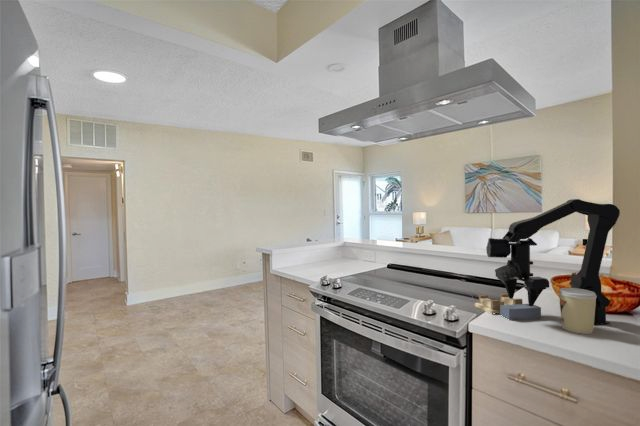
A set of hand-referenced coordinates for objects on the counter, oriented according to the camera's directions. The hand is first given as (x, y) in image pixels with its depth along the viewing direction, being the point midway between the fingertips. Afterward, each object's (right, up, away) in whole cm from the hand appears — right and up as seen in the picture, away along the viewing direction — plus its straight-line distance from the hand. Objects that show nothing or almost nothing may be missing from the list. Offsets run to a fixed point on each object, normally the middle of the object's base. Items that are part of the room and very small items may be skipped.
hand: (520, 302), depth 113 cm
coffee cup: (+11, -6, -12) cm, 17 cm away
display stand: (-2, -5, +9) cm, 10 cm away
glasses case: (0, -6, 0) cm, 6 cm away
